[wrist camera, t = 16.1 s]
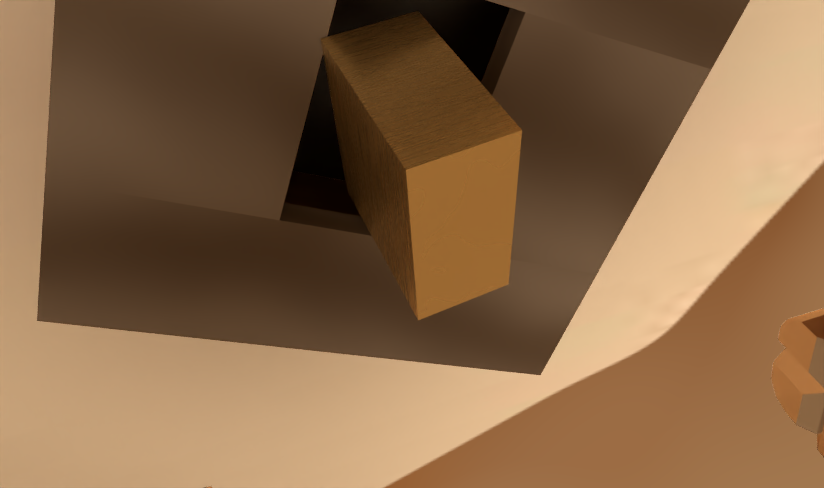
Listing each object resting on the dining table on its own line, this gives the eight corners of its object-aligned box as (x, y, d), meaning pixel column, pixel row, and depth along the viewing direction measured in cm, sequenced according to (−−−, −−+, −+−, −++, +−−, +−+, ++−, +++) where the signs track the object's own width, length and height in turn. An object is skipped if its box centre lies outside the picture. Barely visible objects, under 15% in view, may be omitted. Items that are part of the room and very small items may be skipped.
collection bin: (467, 223, 32) (540, 375, 24) (100, 155, 27) (36, 320, 19) (624, -148, 24) (809, -108, 16) (151, -346, 19) (79, -430, 11)
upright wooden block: (425, 163, 20) (508, 284, 17) (347, 190, 20) (418, 320, 17) (418, 10, 17) (522, 130, 13) (320, 38, 16) (406, 170, 13)
